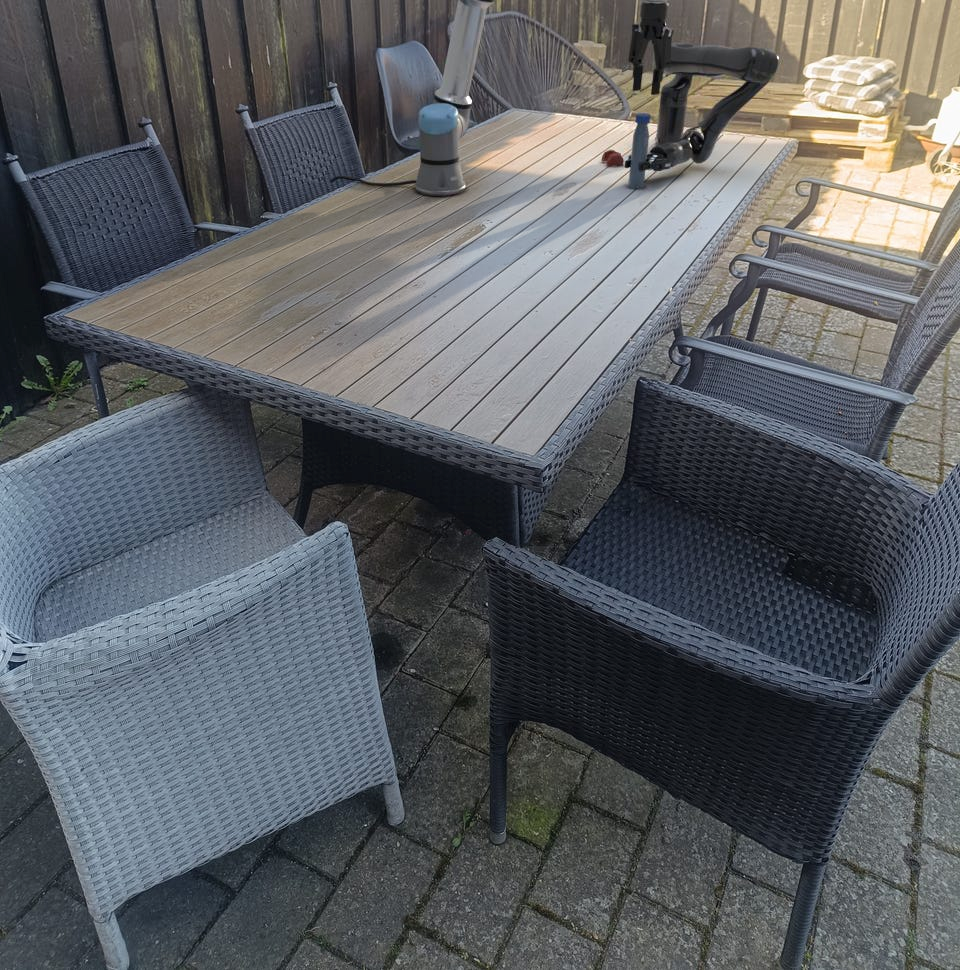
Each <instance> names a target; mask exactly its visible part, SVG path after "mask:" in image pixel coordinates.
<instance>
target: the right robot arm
mask: <svg viewBox="0 0 960 970" xmlns="http://www.w3.org/2000/svg"><path fill="white" fill-rule="evenodd" d="M779 60H780V59H779V56H778V54H777V53H776V52H774V51H773V50H771V49H766V48H762V47H759V46H751V45H750V46H741V47H735V48H733V47H732V48H731V47H728V46H725V45H719V44H718V45H717V44H706V45H697V46H695V45H694V44H693V43H691V42H674V43H671V61H670V67H669V68H665V69H664V71H663V73H664V74H666V75H674V77H673V78H672V79H671V80H670V81H669V82H667V83H664V84H663V85H662V86H661V89H660V90H661V91H660V98H659V99H660V100H659V108H658V115H657V126H656V135H655V137H654V141H655V142H654V146H653V147H652V148H651V149H650V150H649V152H647V160H646V162H645V163H641V164H639V172H642V171H645V172H646V171H653V172H662V171H665V170H670V169H672V168H674V167H676V166H678V165H682V164H684V163H687V162H688V161H690V160H691V161H692V162H693V163H695V164H698V165H699V164H703V163H705V162H706V161H708V159H709V158H710V157H711V156H712V154H713V152H714V149H715V147H716V144H717V141H718V139H719V137H720V135H721V134H722V132H723V131H724V130H725V129H726V127H727V126H728V125H729V123H730V122H731V121H732V119H734V118H735V116H736V115H737V114H738V113H739V112H740V111H741V109H743V107H744V106H746V105H747V104H748V103H749V102H750V101H751V100H752V99H754V97H755V96H756V95H757V94H758V93H760V92H761V90H763V89H764V88H765V87H766V86H767V85H768V83H770V81H771V80H772V79H773V78H774V76H775V75H776V73H777V71H778V68H779V63H780V61H779ZM694 76H697V77H701V78H707V79H721V78H723V77H725V76H729V77H733V78H736V79H739V80H741V81H744V83H743V84H742V85H740V86H739V87H738V88H736V89H735V90H734V91H732V92H730V93H729V94H728V95H726V96H725V97H723V98H721V99H720V100H719V101H717V102H716V103H715V104H713V107H711V108H710V110H709V111H708V113H707V114H706V115H705V117H704V118H703V120H702V121H700V122H699V124H698V125H696V126H693V127H690V128H688V129H686V130H685V122H686V114H687V107H688V99H689V92H690V89H691V87H692V83H693V78H694ZM699 128H700V131H701V132H700V131H698V130H697V129H699ZM684 130H685V131H684ZM627 158H628V159H626V160H624V164H623V166H624V169H630V162H631V154H629V155H628V157H627Z"/></svg>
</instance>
